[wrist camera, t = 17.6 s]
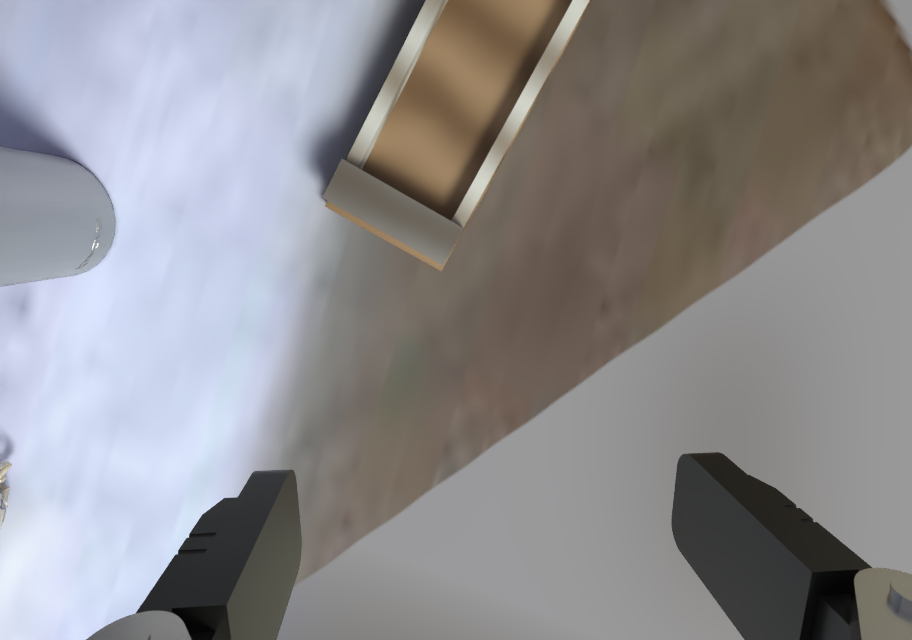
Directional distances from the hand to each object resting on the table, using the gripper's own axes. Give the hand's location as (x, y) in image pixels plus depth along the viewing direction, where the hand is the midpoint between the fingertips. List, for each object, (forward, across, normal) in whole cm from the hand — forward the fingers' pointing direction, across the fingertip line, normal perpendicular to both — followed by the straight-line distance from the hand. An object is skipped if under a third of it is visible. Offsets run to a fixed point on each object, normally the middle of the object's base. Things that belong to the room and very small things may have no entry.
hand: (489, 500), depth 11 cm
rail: (+32, -4, -17) cm, 36 cm away
